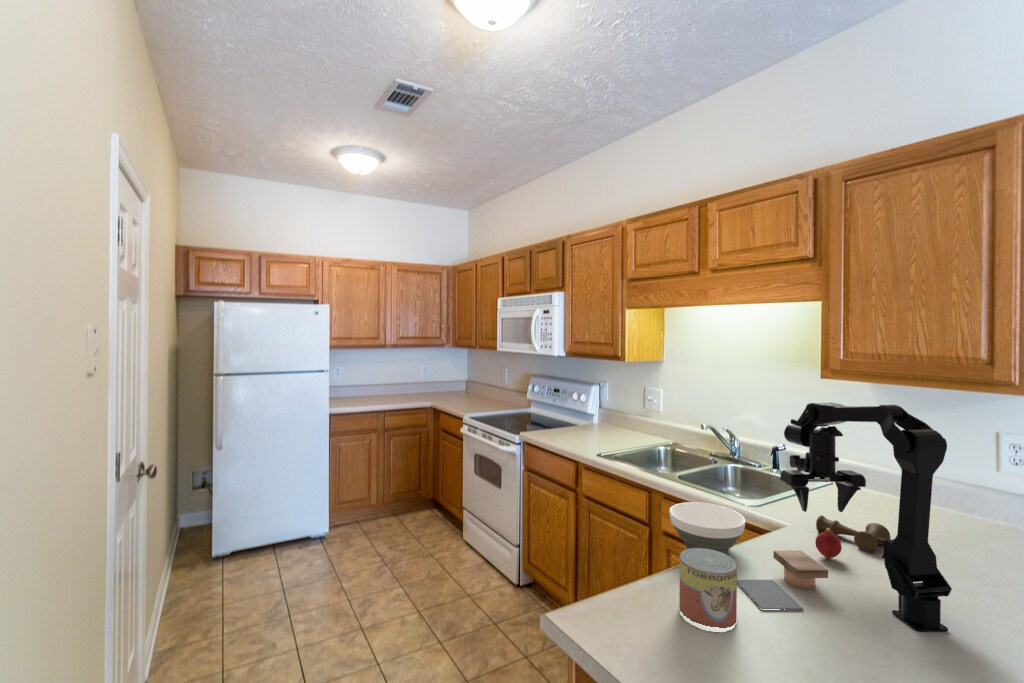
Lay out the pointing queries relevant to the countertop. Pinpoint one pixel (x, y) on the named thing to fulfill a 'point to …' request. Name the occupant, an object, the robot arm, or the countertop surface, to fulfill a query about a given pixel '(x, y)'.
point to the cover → (800, 564)
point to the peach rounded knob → (798, 580)
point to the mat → (768, 595)
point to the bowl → (707, 525)
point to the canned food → (708, 587)
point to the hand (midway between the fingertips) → (822, 511)
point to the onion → (828, 544)
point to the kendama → (857, 533)
